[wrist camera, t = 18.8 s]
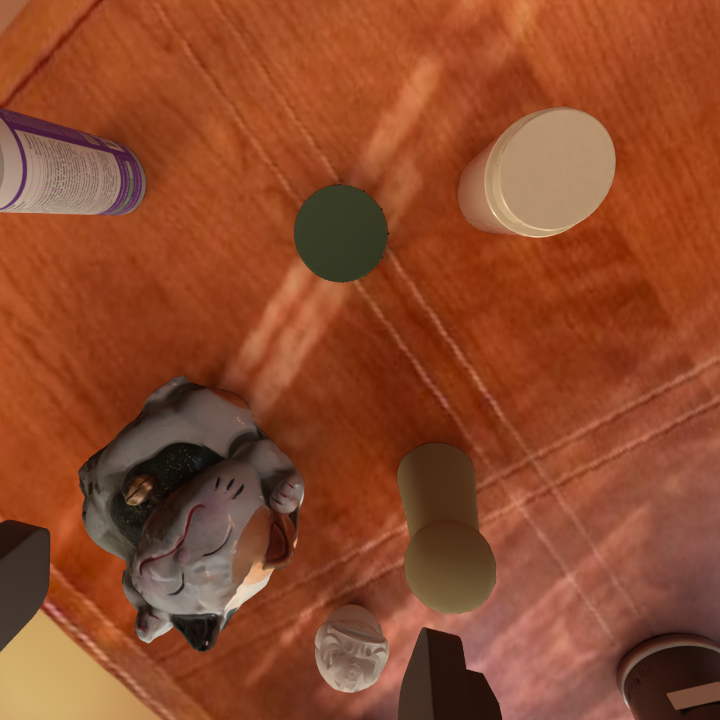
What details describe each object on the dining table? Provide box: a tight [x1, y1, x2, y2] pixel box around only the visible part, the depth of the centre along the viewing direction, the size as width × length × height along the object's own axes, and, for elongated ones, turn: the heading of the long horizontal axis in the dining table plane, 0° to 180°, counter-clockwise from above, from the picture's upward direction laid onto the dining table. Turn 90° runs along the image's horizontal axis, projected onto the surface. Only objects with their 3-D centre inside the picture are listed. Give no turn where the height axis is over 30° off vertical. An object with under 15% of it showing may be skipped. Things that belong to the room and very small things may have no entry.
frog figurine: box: [315, 604, 389, 692], centre depth 35 cm, size 6×7×7 cm
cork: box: [397, 443, 496, 614], centre depth 29 cm, size 6×6×11 cm
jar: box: [458, 107, 616, 237], centre depth 23 cm, size 5×5×10 cm
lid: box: [294, 184, 389, 283], centre depth 28 cm, size 6×6×2 cm
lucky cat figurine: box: [78, 376, 305, 652], centre depth 29 cm, size 15×12×14 cm
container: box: [0, 108, 146, 215], centre depth 22 cm, size 5×5×15 cm
